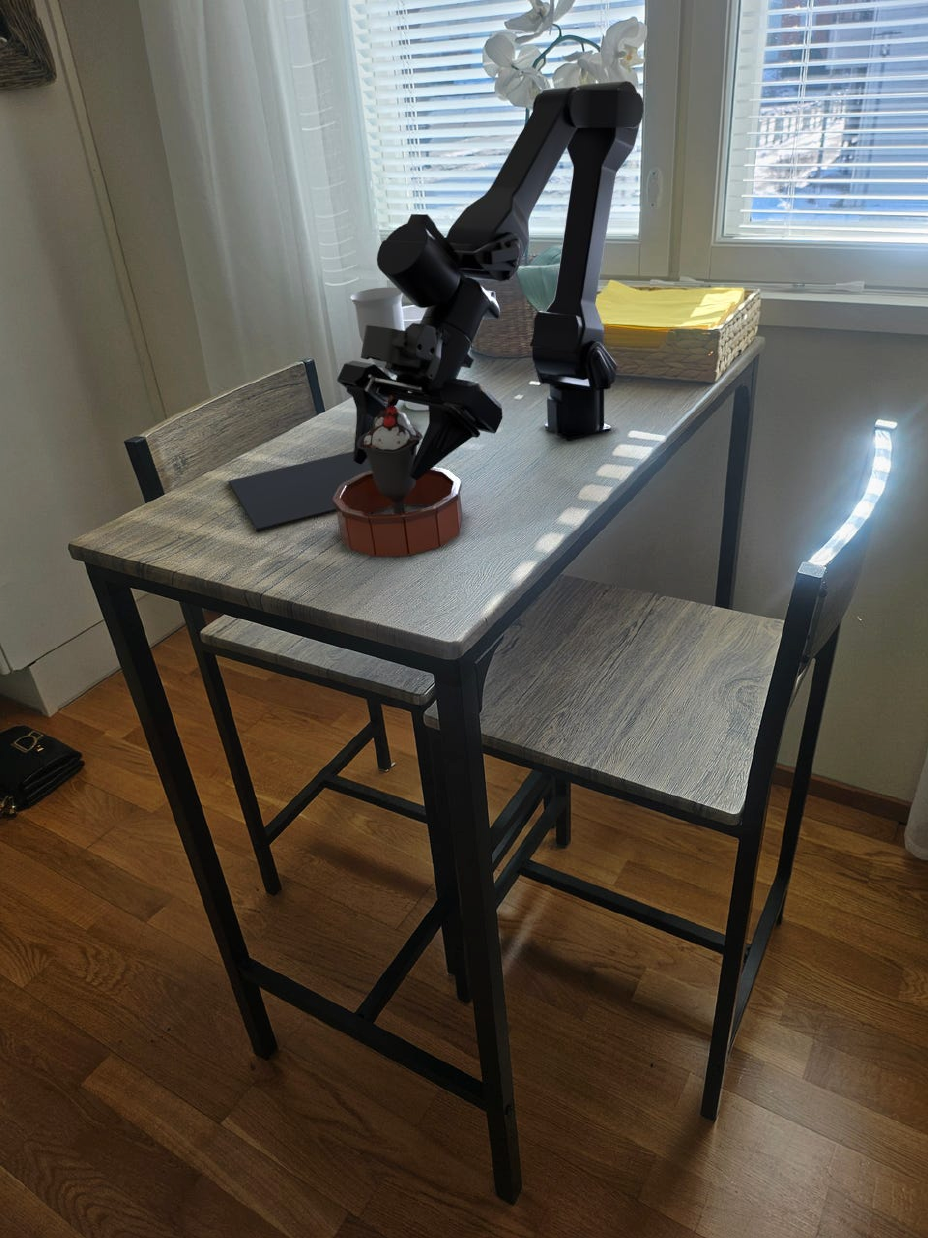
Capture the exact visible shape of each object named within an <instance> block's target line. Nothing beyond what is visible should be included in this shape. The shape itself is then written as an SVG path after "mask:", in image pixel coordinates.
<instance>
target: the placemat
mask: <svg viewBox="0 0 928 1238" xmlns="http://www.w3.org/2000/svg"><path fill="white" fill-rule="evenodd" d="M353 455H354V450H353V451H348V452H344V453H340V454H336V455H332V456H327V457H323V458H319V459H315V460H312V461H307V462H303V463H298V464H294V465H290V466H285V467H282V468H277V469H272V470H268V471H264V472H260V473H256V474H251V475H247V476H243V477H238V478H233V479H231V480H228V485H229V486H230V488H231V490H232V492H233V494H234V495H235V497H236V498H237V500H238V501H239V504H240V505H241V507H242V509H243V510H244V512H245V513H246V515H247V517H248V518H249V520H250V522H251V524H252V525H253V527H254V529H255V531H256V532H257V533H260V532H263V531H267V530H270V529H271V530H272V529H275V528H279V527H282V526H286V525H290V524H294V523H299V522H303V521H306V520H310V519H314V518H318V517H321V516H326V515H329V514H334V513H337V511H336V508H335V506H334V505H333V497H334V495H335V493H336V491H337V489H338V488H339V486H340V485H341V484H343V483H345V482H346V481H348V480H350V479H352V478H354V477H355V476H357V475H359V474H362V473H365V472H369V471H372V470H371V466H370V462H369V459H368V458H367V459H366V460H365V461H364V462H363V463H362V464H361V465H360V464H358V463H356V462H355V461H354V460H353Z"/></svg>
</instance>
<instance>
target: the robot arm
mask: <svg viewBox="0 0 928 1238" xmlns="http://www.w3.org/2000/svg"><path fill="white" fill-rule="evenodd" d="M532 103H533V104H532V112H531V114H530V115H529V117H528V119H527V121H526V123H525V124H524V126H523V127H522V130H521V132H520V133H519V136H518V137H517V139H516V140H515V143H514V144H513V146H512V148H511V150H510V151H509V154H508V155H507V157H506V159H505V161H504V163H503V164H502V166H501V167H500V170H499V171H498V173H497V175H496V177H495V179H494V180H493V182H492V183H491V186H490V187H489V189H488V190H487V191H486V193H485V194H484V195H483V196H481V197H479V198H478V199H477V200H475V201H474V202H472V203H470V204H469V205H468V206H467V207H465V209H464V210H463V211H462V213H461V214H460V215H459V216H458V217H457V219H456V220H455V221H454V223H453V224H452V225H451V226H450V228H449V230H448V233H447V234H446V235H443V234H442V233H441V231H440V230H439V229H438V227H437V225H436V224H435V222H434V220H433V219H432V217H430V216H429V214H428V213H411V214H410V216H409V218H408V220H407V223H404V224H402V225H400V226H399V227H397V228H396V229H394V230H393V231H392V232H391V233H390V234H389V235H388V236H387V237H386V239H384V240H382V241H381V243H380V246H379V247H378V250H377V255H376V264H377V265H376V266H377V267H378V269H379V271H380V272H381V273H382V274H383V275H385V276H386V278H387V279H388V280H389V281H390V282H391V283H392V284H393V285H394V286H395V288H398V289H399V290H400V291H401V292H402V293H403V296H405V297H406V298H407V299H408V300H409V301H410V302H411V303H412V304H413V305H415V306H417V307H419V308H427V309H426V311H425V314H424V316H423V318H422V320H421V322H420V324H417V323H412V324H411V325H410V326H409V327H407V328H406V329H405V331H404V330H397V329H392V328H386V327H379V326H371V325H366V329H365V335H364V341H363V342H362V347H361V353H360V358H361V359H363V360H366V361H367V360H369V359H371V360H372V359H375V360H379V361H383V362H387V363H386V365H385V367H384V368H386V369H387V370H388V371H389V372H390V373H391V375H392V374H393V375H395V376H396V378H395V379H394V378H392V379H391V378H390V377H389V376H388V375H387V374H386V373H384V371H383V369H382V368H380V367H377V366H376V365H375V363H370V362H364V361H358V360H350V361H348V362H345V363H344V364H343V366H342V368H341V370H340V373H339V375H338V377H337V379H336V382H337V383H339V384H340V385H342V386H343V387H344V388H345V389H346V393H347V394H348V395H350V396H351V397H352V400H353V402H354V406H355V407H356V408H355V409H356V412H355V413H356V416H355V417H356V422H355V424H356V425H355V435H354V443H353V451H354V455H353V460H354V461H355V462H356V463H358V464H360V465H361V464H362V463H363V462H364V461H365V460H366V459H367V458H368V457H367V454H366V452H365V451H364V450H362V449H360V448H358V446H357V442H358V440H359V438H360V436H362V435H363V434H365V433H367V432H370V431H371V430H372V428H373V425H374V421H375V418H376V417H377V416H378V415H379V414H380V412H381V410H385V411H386V406H387V403H388V400H389V398H390V395H391V396H392V397H393V400H392V401H391V402H390V403H389V404H390V406H394V407H395V406H397V405H398V403H399V401H401V402H402V401H403V402H404V401H407V402H412V403H416V404H421V405H426V406H429V410H428V426H427V428H426V431H425V433H424V435H423V438H422V439H421V441H420V444H419V447H418V448H417V451H416V457H415V459H414V462H413V465H412V468H411V471H410V477H411V478H413V479H414V480H419V479H420V478H421V477H422V476H423V475H425V474H426V473H427V472H428V471H429V470H430V469H432V468H433V467H436V466H437V465H438V464H439V463H440V462H441V461H443V460H444V459H445V458H446V457H447V456H448V455H450V454H451V453H453V452H454V451H455V450H457V449H458V448H460V447H461V446H462V445H463V444H465V443H467V442H468V441H469V440H471V439H473V438H476V439H478V438H479V437H480V435H481V434H482V433H481V432H485V433H489V434H493V435H494V434H496V433H497V431H498V429H499V427H500V424H501V422H502V420H503V408H502V404H501V403H500V402H499V401H498V400H497V398H495V397H494V396H493V395H492V394H491V393H490V392H489V391H488V390H487V389H486V388H485V387H484V386H483V385H482V384H481V383H480V382H477V381H472V380H465V379H459V378H458V376H459V374H460V372H461V369H462V368H467V369H471V367H472V365H473V363H474V361H475V359H474V358H473V356H471V355H470V354H469V352H470V350H471V347H472V345H473V343H474V340H475V338H476V336H477V334H478V332H479V329H480V327H481V325H482V323H483V320H484V319H493V320H499V319H500V318H501V310H500V306H499V304H498V301H497V298H496V292H495V291H492V290H486V289H485V288H484V287H483V286H482V285H481V284H480V282H479V281H490V282H504V281H505V282H506V281H510V280H511V279H512V278H513V277H514V276H515V275H516V273H517V272H518V270H519V268H520V266H521V263H522V261H523V257H524V255H525V253H526V251H527V249H528V248H527V247H528V245H529V242H530V232H529V231H530V230H529V220H530V217H531V214H532V212H533V210H534V209H535V207H536V205H537V203H538V201H539V199H540V197H541V196H542V194H543V192H544V190H545V188H546V187H547V185H548V182H549V181H550V179H551V177H552V175H553V174H554V172H555V170H556V168H557V166H558V164H559V163H560V160H561V158H562V157H563V156H564V153H565V152H566V151H567V153H568V157H569V159H570V161H571V164H572V176H571V182H570V190H569V197H568V202H567V203H568V204H567V210H566V218H565V225H564V231H563V238H562V245H561V252H560V258H559V266H558V273H557V280H556V286H555V293H554V297H553V300H552V302H551V303H550V305H549V306H548V307H547V309H546V310H545V311H537V312H536V313H535V316H534V320H533V321H534V322H533V334H532V337H531V340H530V342H529V347H531V360H532V363H533V366H534V369H535V372H536V375H537V379H538V382H539V384H541V385H549V396H548V397H547V399H546V412H547V414H546V415H547V417H546V418H547V423H544V428H545V429H546V430H547V431H550V432H551V433H553V434H555V435H556V436H558V437H559V438H562V439H563V440H565V441H567V442H572V441H576V440H580V439H584V438H588V437H592V436H596V435H600V434H604V433H607V432H610V431H611V430H612V426H610V425H608V424H607V423H605V390H609V389H611V388H612V384H614V383H615V382H616V378H617V377H616V376H617V371H618V364H617V363H616V362H615V360H614V358H612V356H611V355H610V354H609V352H608V351H607V349H606V348H605V347H604V341H605V339H604V338H605V327H604V324H603V321H602V318H601V316H600V313H599V310H598V307H597V304H596V303H597V296H598V289H599V283H600V277H601V270H602V263H603V258H604V251H605V245H606V240H607V239H606V238H607V233H608V226H609V221H610V220H609V219H610V215H611V207H612V201H613V195H614V188H615V183H616V177H617V174H618V171H619V170H620V168H621V167H622V165H623V164H625V162H626V160H627V159H628V157H629V156H630V154H631V153H632V152H633V151H634V148H635V145H636V141H637V138H638V134H639V129H640V125H641V124H642V123H641V122H642V120H643V118H644V101H643V97H642V95H641V94H640V93H639V92H638V90H637V88H636V87H635V85H634V84H633V83H632V81H628V80H623V81H609V82H595V83H585V84H580V85H578V86H566V87H552V88H545V89H543V90H542V91H541V92H538V93H537V94H536V96H535V98H534V100H533V102H532ZM477 280H479V281H477ZM408 391H409V392H411V393H409V392H408ZM388 407H389V405H388Z"/></svg>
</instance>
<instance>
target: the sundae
mask: <svg viewBox="0 0 928 1238" xmlns="http://www.w3.org/2000/svg"><path fill="white" fill-rule="evenodd" d="M392 400H393V397H392V396H391V395H390V398H389V400H388V403H387V406H386V411H385V410H381V412H380V414H379V415H378V416H377V417H376V418H375V421H374V425H373V428H372V430H371V431H370V432H367V433H365V434H363V435H362V436H360V438H359V440H358V442H357V446H358V448H360V449H362V450H364V451H365V452H366V454H367V457H368V459H369V462H370V466H371V470H372V473H373V477H374V480H375V483H376V485H377V488H378V491H379V492H380V493H382V494H383V495H384V496H386V497H388V498H390V499H391V500H392V501H393V507H392V508H393V514H400V513H406V512H407V511H406V505H404V498H405V497H406V496H407V495H408V494H409V493H410V492H411V490H412V489H413V488H414V486H415V480H414V479H413V478H411V477H410V471H411V468H412V465H413V462H414V459H415V457H416V454H417V451H418V445H420V444H421V441H422V440H423V437H424V435H423V434H422V432H420V431H419V430H418V429H415V427H413V426H412V424H411V425H408V424H407V421H406V419H405V418H404V416H403V415H402V414H401V413H399V412H398V411H399V409H398V408H397V407H394V406H390V404H389V403H390V402H391V401H392ZM388 405H389V407H388ZM397 409H398V410H397ZM411 426H412V427H411Z"/></svg>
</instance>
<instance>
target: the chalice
mask: <svg viewBox="0 0 928 1238" xmlns="http://www.w3.org/2000/svg"><path fill="white" fill-rule="evenodd" d="M403 296H404V294H403V293H402V292H401V291H400V290H399V289H398V288H397V287H393V286H392V287H376V288H369V289H365V290H360V291H358V292H355V293H353V294H351V295H350V296H349V298H350V300H351V302H352V303H353V305H354V306H355V313H356V320H357V327H358V334H359V337H360V340H361V341H362V343H363V341H364V335H365V329H366V325H371V326H379V327H386V328H392V329H397V330H404V331H405V329H404V320H403V312H402V307H403V305H402V304H403V303H402V299H403ZM371 360H372V362H373V364H375V365H376V366H377V367H379V368H380V369H382V371H383V372H384V373H386V374H387V375H388V376H389V377H390V378H391V379H393V376H392V373H390V372H389V371H388V370H387V369H386V368H384V367H385V365H386V363H387V362H383V361H379V360H375V359H371ZM396 406H397V405H396ZM396 406H395V407H396ZM396 408H397V407H396ZM397 410H398V412H399V413H401V414H402V415H403V416H404V418H405V419H406V421H407V424H408V425H411V427H413V426H412V424H411V423H410V422H411V421H410V420H409V418H408V416H407V415H406V413H405V412H403V411H401V410H399V409H398V408H397Z"/></svg>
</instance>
